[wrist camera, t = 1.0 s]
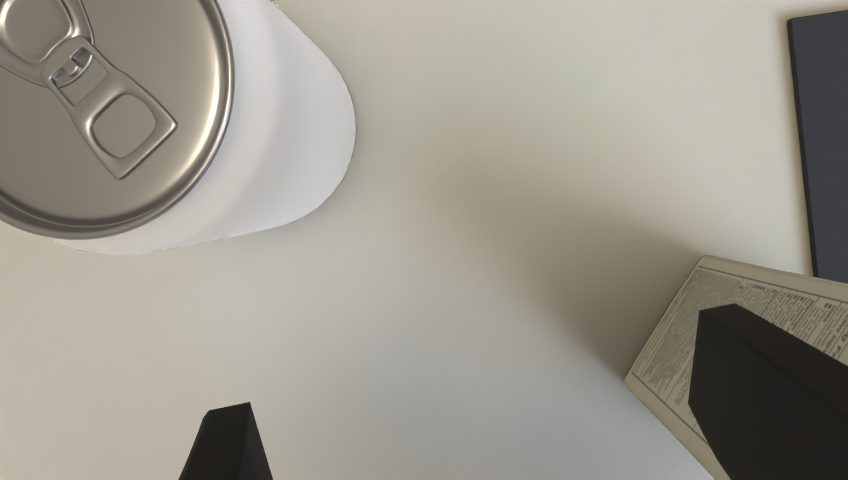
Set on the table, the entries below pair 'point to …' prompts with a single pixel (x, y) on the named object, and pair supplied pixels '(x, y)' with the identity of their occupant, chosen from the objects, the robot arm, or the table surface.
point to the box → (753, 290)
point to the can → (164, 121)
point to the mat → (823, 134)
